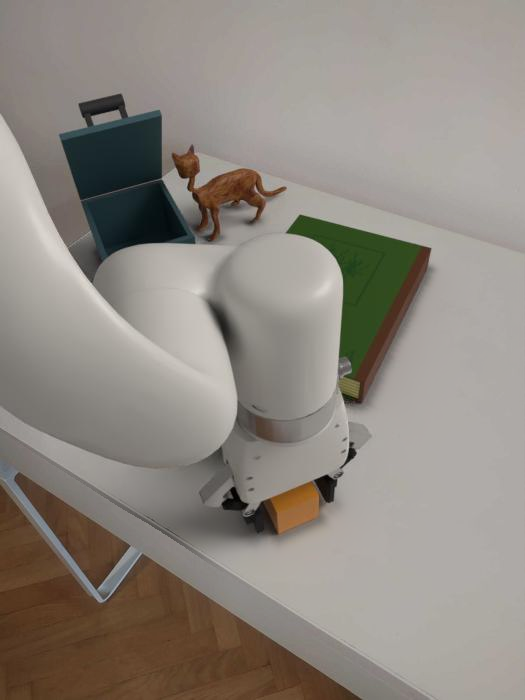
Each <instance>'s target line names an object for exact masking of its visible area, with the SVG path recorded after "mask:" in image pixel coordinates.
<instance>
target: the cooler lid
mask: <svg viewBox="0 0 525 700" xmlns="http://www.w3.org/2000/svg"><path fill="white" fill-rule="evenodd" d="M77 105H78V108H79V111H80V115H81V117H82V118H83V119H84V121H85V124H86V126H87V127H83V128H79V129H75V130H74V129H73V130H70V131H66V132H63V133H59V134H58V136H59V137H58V138H59V139H60V143H61V146H62V149H63V152H64V155H65V158H66V160H67V161H66V162H67V163H68V167H69V171H70V173H71V177H72V179H73V183H74V185H75V188H76V192H77V195H78V197H79V200H80V201H83V200H87V199H90V198H94V197H98V196H101V195H105V194H109V193H112V192H116V191H120V190H123V189H127V188H131V187H134V186H138V185H142V184H145V183H149V182H153V181H156V180H160V179H163V114H162V112H161V110H160V109H156V110H152V111H148V112H144V113H140V114H136V115H132V116H129V115H128V112H127V109H126V102H125V99H124V96H123V94H122V93H117V94H112V95H108V96H104V97H100V98H99V97H98V98H95V99H92V100H91V99H90V100H87V101H82V102H79V103H78V104H77ZM115 111H118V112H119V115H120V118H119V119H115V120H110V121H108V122H103V123H99V124H94V121H93V118H92V117H95V116H99V115H103V114H107V113H111V112H115Z"/></svg>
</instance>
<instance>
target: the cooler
mask: <svg viewBox="0 0 525 700" xmlns="http://www.w3.org/2000/svg"><path fill="white" fill-rule="evenodd" d="M80 204H81V207H82V209H83V212H84V215H85V218H86V221H87V224H88V227H89V230H90V232H91V236H92V238H93V241H94V244H95V247H96V250H97V253H98V256H99V258H100V261H101V263H102V262H103V261H104V260H105V259H106V258H108V257H109V256H110V255H112V254H113V253H115V252H117V251H119V250H121V249H124V248H127V247H131V246H135V245H140V244H150V243H179V244H197V241H196V238H195V235H194V233H193V231H192V229H191V227H190V225H189V224H188V222H187V221H186V219H185V216H184V215H183V214H182V212H181V210H180V208H179V207H178V204H177V202H175V199H174V198H173V196H172V194H171V193H170V190H169V189H168V187H167V185H166V183H165V181H164V180H163V178H161V179H158V180H154V181H150V182H147V183H143V184H139V185H136V186H132V187H128V188H125V189H121V190H117V191H114V192H110V193H106V194H103V195H99V196H95V197H92V198H88V199H84V200H80Z"/></svg>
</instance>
